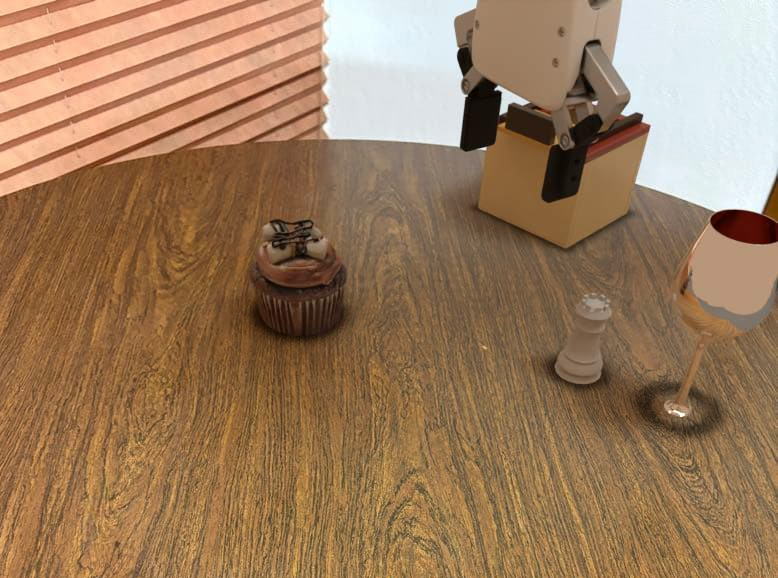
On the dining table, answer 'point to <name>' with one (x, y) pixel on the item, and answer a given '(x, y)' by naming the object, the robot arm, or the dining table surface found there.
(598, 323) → the rook chess piece
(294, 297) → the cupcake
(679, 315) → the wineglass
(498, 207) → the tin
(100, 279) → the dining table surface
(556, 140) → the slider
